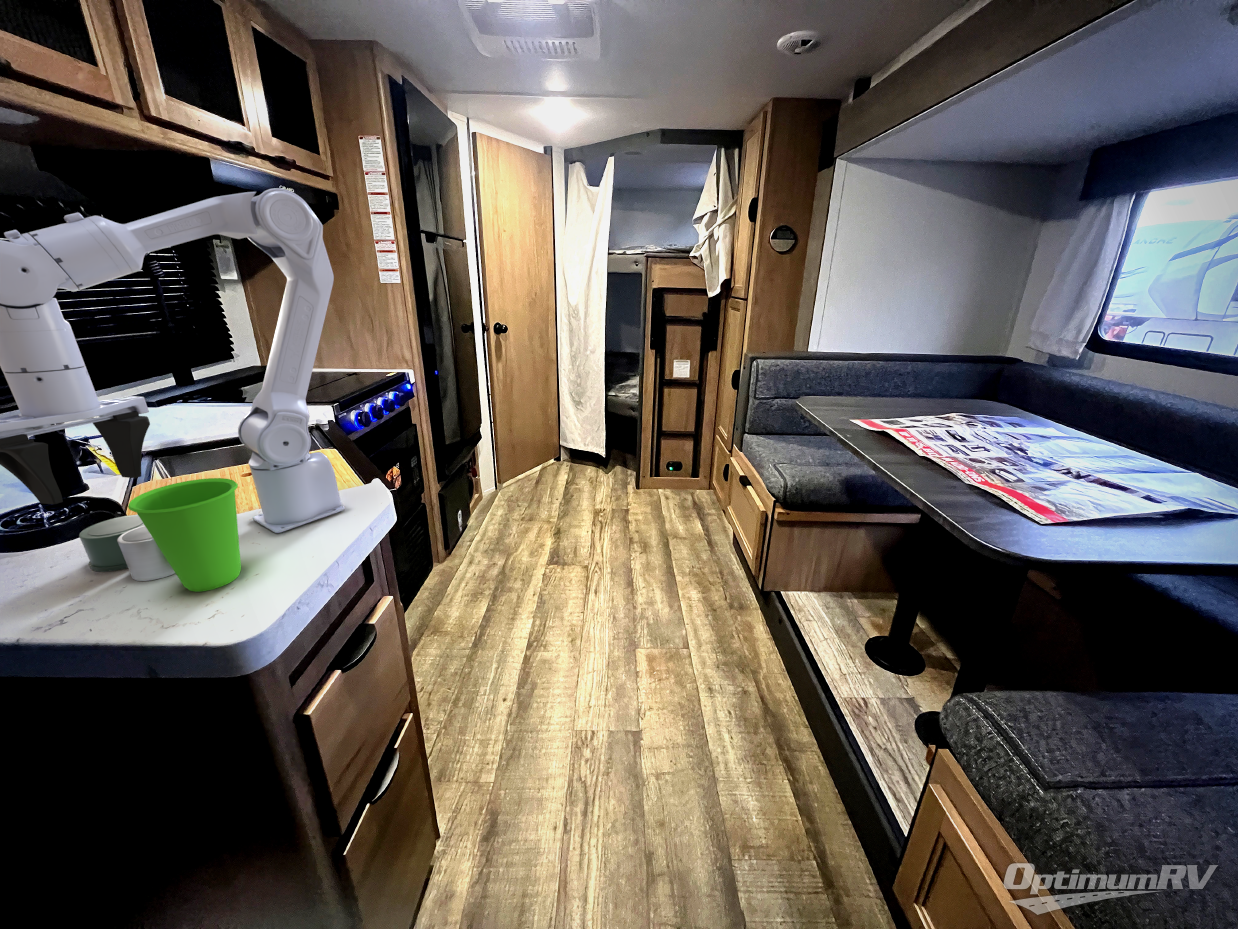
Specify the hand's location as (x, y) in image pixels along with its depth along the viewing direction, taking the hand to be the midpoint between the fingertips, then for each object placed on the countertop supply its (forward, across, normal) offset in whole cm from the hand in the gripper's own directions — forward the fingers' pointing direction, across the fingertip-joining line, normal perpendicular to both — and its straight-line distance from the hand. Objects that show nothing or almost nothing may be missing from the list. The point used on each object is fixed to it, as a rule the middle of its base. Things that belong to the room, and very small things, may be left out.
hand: (94, 488), depth 54 cm
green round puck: (+10, -2, -2) cm, 11 cm away
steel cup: (+10, -1, +5) cm, 11 cm away
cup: (+11, 0, +13) cm, 17 cm away
